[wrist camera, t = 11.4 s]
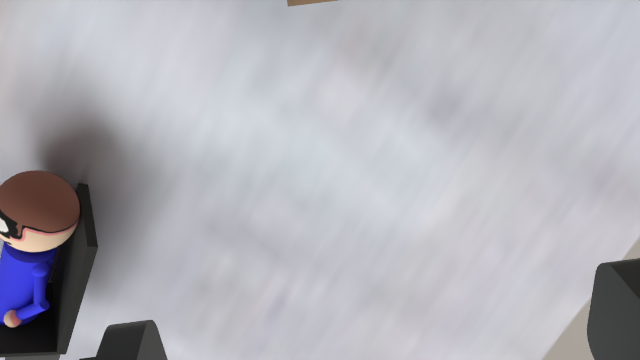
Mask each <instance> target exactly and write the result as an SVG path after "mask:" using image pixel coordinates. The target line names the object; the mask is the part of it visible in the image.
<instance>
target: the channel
mask: <svg viewBox="0 0 640 360" xmlns="http://www.w3.org/2000/svg"><path fill="white" fill-rule="evenodd" d="M328 1H337V0H287V2H288V6H296V5H304V4H312V3H320V2H328Z"/></svg>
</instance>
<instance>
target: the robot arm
mask: <svg viewBox="0 0 640 360" xmlns="http://www.w3.org/2000/svg"><path fill="white" fill-rule="evenodd" d="M587 336H588V342H589V346H590V349H591V352H592V355H593V357H594V359H595V360H640V258H638V259H630V260H622V261H615V262H607V263H602V264H600V265H599V266H598V267H597V270H596V274H595V280H594V286H593V293H592V299H591V305H590V312H589V318H588V325H587ZM79 360H167V357H166V354H165V350H164V347H163V344H162V341H161V338H160V335H159V332H158V329H157V326H156V324H155V322H154V321H153V320H145V321H137V322H130V323H122V324H114V325H110V326H108V327H107V329H106V330H105V333H104V335H103V338H102V341H101V344H100V347H99V349H98V352H97V355H96V357H91V358H83V359H79Z"/></svg>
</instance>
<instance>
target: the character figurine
mask: <svg viewBox="0 0 640 360" xmlns="http://www.w3.org/2000/svg"><path fill="white" fill-rule="evenodd" d="M0 238H1V239H2V240H3V241H4V244H3V249H2V254H1V259H0V357H5V360H59V358H60V354H66V352H67V349H68V346H69V342H70V339H71V335H72V332H73V329H74V325H75V322H76V319H77V315H78V312H79V309H80V305H81V302H82V299H83V295H84V292H85V289H86V285H87V282H88V279H89V275H90V272H91V269H92V265H93V262H94V259H95V255H96V252H97V248H98V245H97V239H96V232H95V226H94V220H93V214H92V207H91V201H90V195H89V189H88V185H86V184H78V188H77V192H76V193H75V191H74V190H73V188H72V187H71V186H70V185H69V184H68V183H67V182H66V181H65V180H64V179H62V178H61V177H59V176H57V175H55V174H52V173H49V172H45V171H27V172H22V173H19V174H16V175H14V176H12V177H11V178H9V179H8V180H6V181H5V182H4V183H3V184H2V185H1V186H0ZM62 243H63V244H62ZM60 244H62V248H61V252H60V256H59V259H58V263H57V267H56V271H55V274H54V278H53V282H52V283H47V282H48V278H49V274H50V270H51V267H52V263H53V259H54V255H55V251H56V247H57V246H59V245H60Z"/></svg>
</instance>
